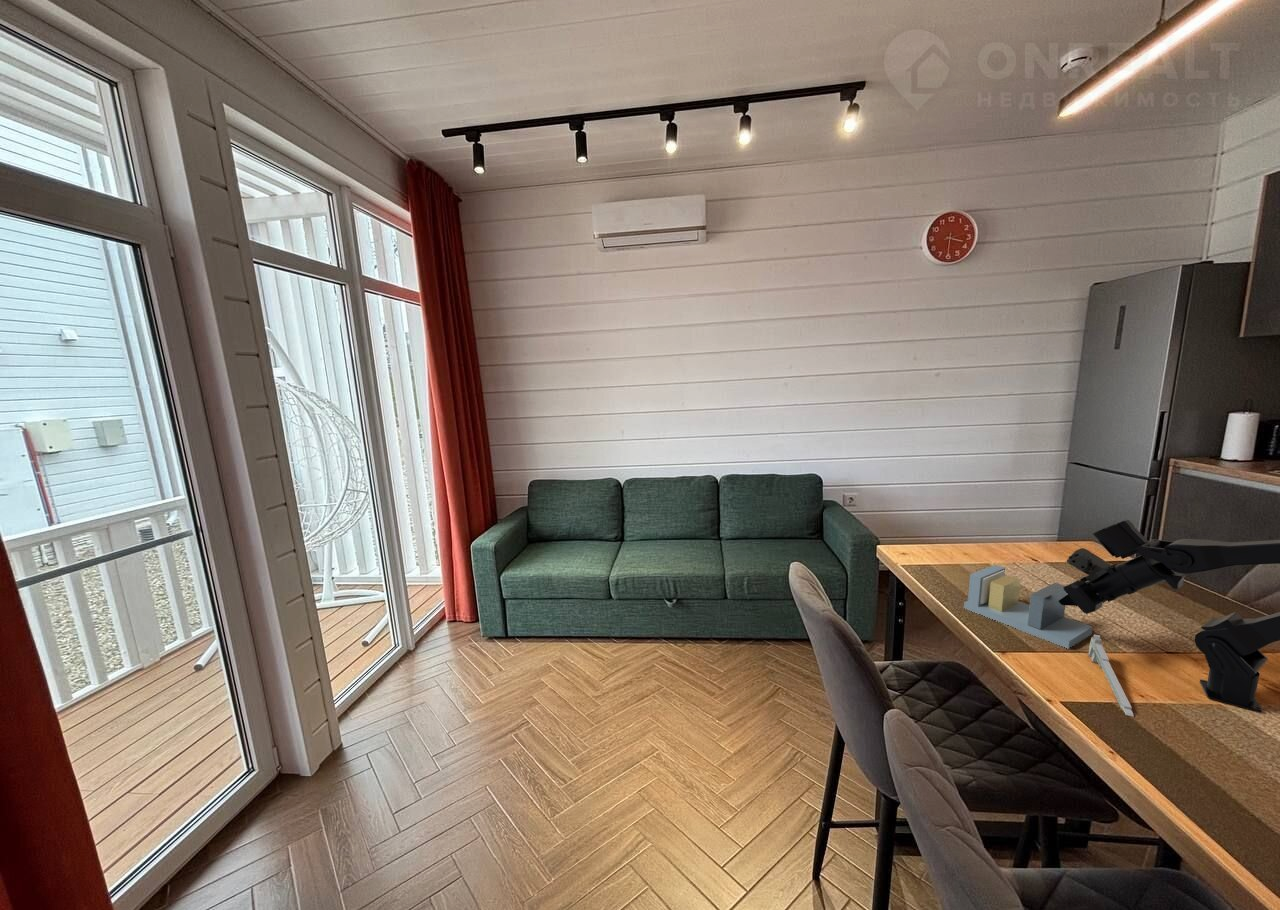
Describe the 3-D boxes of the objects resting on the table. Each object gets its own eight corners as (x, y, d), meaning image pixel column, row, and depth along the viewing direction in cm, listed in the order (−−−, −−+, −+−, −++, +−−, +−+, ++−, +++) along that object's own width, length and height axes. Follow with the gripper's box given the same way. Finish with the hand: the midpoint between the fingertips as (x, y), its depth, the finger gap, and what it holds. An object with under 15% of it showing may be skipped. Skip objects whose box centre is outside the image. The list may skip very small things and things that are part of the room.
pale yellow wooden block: (1017, 604, 122) (1020, 578, 121) (1001, 611, 119) (1004, 586, 118) (1004, 599, 125) (1006, 574, 124) (988, 607, 121) (990, 581, 120)
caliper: (1087, 657, 103) (1090, 631, 102) (1094, 658, 103) (1097, 632, 102) (1125, 716, 85) (1130, 685, 84) (1134, 718, 85) (1138, 687, 84)
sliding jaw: (1064, 616, 116) (1067, 586, 114) (1040, 629, 110) (1043, 598, 109) (1049, 611, 118) (1053, 582, 117) (1025, 623, 113) (1028, 593, 111)
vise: (1091, 634, 111) (1097, 595, 110) (1068, 649, 106) (1073, 608, 104) (988, 597, 130) (991, 563, 129) (963, 608, 125) (966, 573, 123)
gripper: (1117, 534, 108) (1052, 563, 119) (1081, 550, 99) (1014, 580, 111) (1161, 579, 102) (1088, 605, 114) (1126, 600, 94) (1052, 626, 105)
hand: (1060, 602), depth 111 cm, fingers closed
